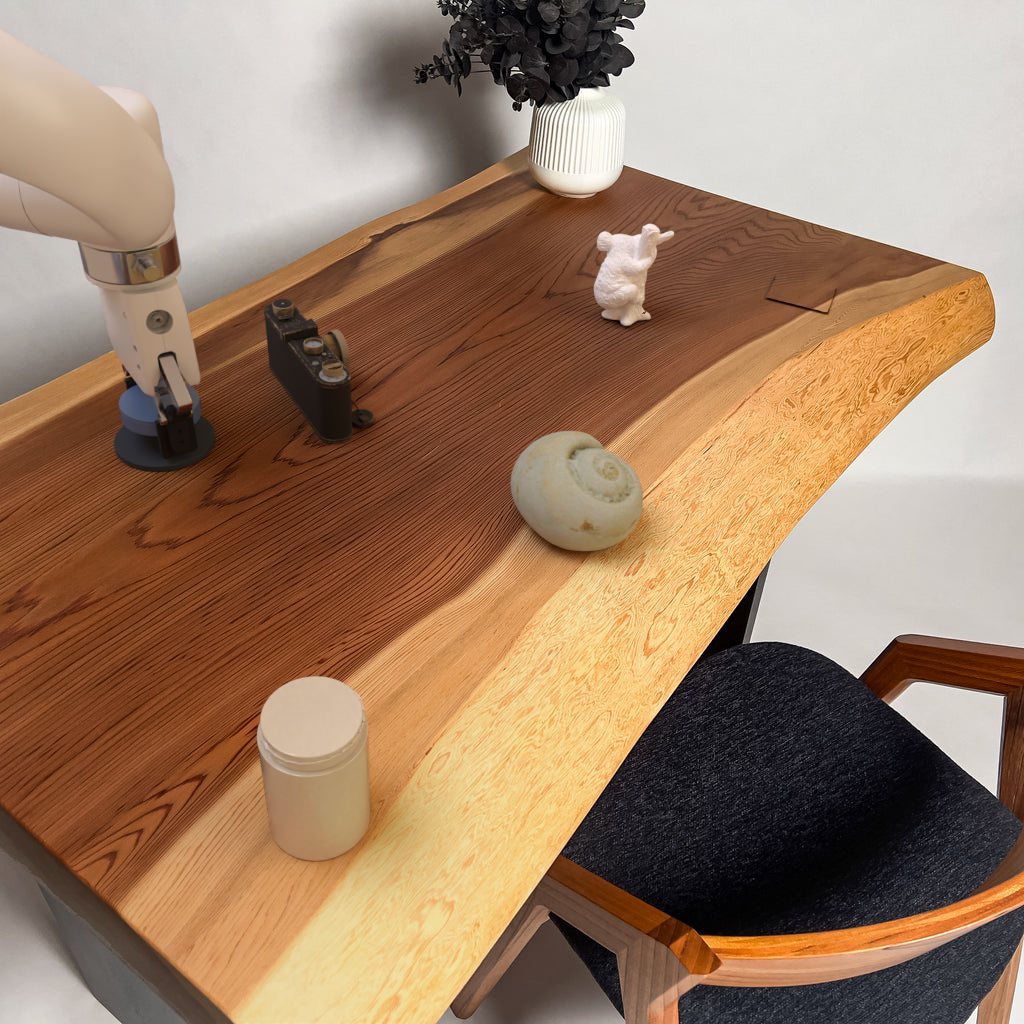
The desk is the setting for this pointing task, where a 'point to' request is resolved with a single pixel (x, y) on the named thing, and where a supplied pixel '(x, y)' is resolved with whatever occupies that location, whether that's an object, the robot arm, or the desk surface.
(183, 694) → the desk surface
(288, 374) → the camera
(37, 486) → the desk surface
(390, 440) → the desk surface
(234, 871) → the desk surface
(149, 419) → the jar lid
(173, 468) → the coaster
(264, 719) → the jar
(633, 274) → the koala figurine
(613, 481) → the seashell
